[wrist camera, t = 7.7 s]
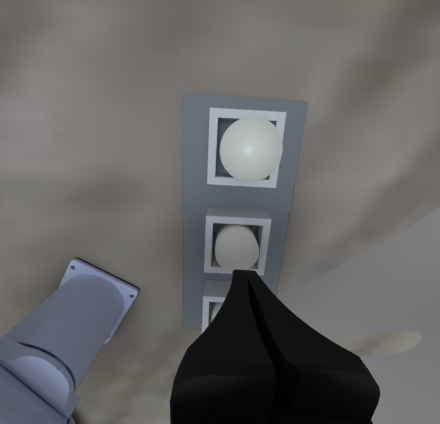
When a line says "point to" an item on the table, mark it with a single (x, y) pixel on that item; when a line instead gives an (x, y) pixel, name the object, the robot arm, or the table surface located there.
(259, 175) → the knob
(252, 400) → the robot arm
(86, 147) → the table surface
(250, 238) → the knob mid
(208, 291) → the control panel
